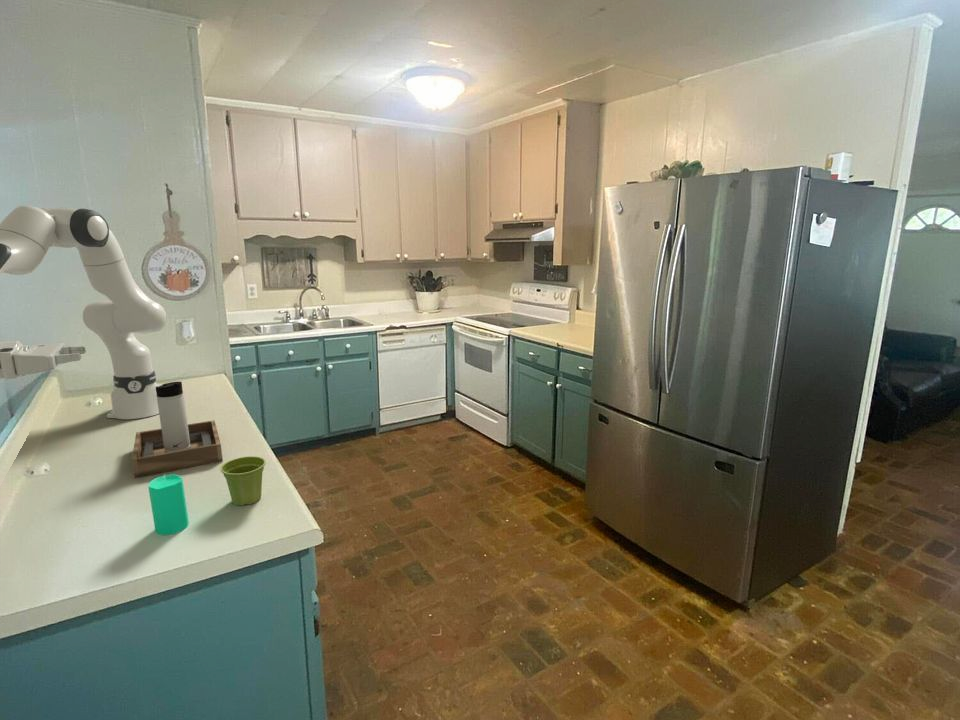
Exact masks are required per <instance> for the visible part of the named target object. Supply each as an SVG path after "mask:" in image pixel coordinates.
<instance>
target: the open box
mask: <svg viewBox="0 0 960 720" xmlns="http://www.w3.org/2000/svg"><path fill="white" fill-rule="evenodd" d="M188 431H189V434H192V433H198V432H204V431H209V435H210V440H211V444H212V445H206V446H203V442H202V441H196V442H190V445H191V448H189V449H184V450H178V451H172V452H166V453H165V448H164V447H161V448H155V449H154V455H149V456H144V447H145V441H149V440H155V439H161V438H163V436H162V429H161V428H155V429H149V430H143V431H138V432H135V437H134V438H135V439H134V444H133V450H132V456H131V463H132V470H133V471H132V472H133V476H134V479H139V478H144V477H149V476H155V475H160V474H166V473H170V472H176V471H180V470H181V471H182V470H185V469H186V470H187V469H191V468H196V467H202V466H206V465H212V463H213V464H217V462H218V463H222V462H221V461H223V452H222V451H223V450H222V444H221V441H220V440H221V439H220V437H219V436H220V435H219V432H218V428H217V423H216V421H215V419H214V420H207V421H201V422H194V423H188ZM143 456H144V457H143ZM223 462H224V461H223Z"/></svg>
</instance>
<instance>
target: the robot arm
mask: <svg viewBox="0 0 960 720" xmlns="http://www.w3.org/2000/svg"><path fill="white" fill-rule="evenodd" d="M50 247H57V248H69V249H70V248H76V249H77V251H78V253H79V256H80V259H81V262H82V265H83V268H84V270H85V273H86V275H87V277H88V280H89V282H90V285H91V287H92V288H93V290H95V291H97V292H98V293H100V294H102V295H103V296H105V297H106V298H107V300H105V299H104V300H99V301H95V302H90V303H89V304H87V305H86V306H85V308H83V311H82V320H83V323H84V325H85V327H87V328H88V329H89V330H90V331H92V332H93V333H95V335H97V336H98V337H99V339H101V341H102V342H103V343H104V345H105V347H106V348H107V351H108V352H109V355H110V359H111V364H112V368H113V384H114V387H115V388H114V389H113V390H112V392H110V401H111V407H112V408H111V409H112V410H110V411H109V412H108V413H107V414H106V418H107V419H118V420H135V419H136V420H137V419H143V418H148V417H152V416H156V415H158V414H159V409H158V402H157V393H156V387H157V386H161V385H160V384H158V383H157V375H156V372H155V370H154V367H153V366H154V365H153V359H152V353H151V350H150V349H149V347H148V346H146V345H145V344H143V343H142V342H140V341H139V340H138V339H137V338H136V336H135V334H139V335H140V334H143V335H144V334H151V333H156V332H160V331H162V329H164V327H165V326H166V323H167V313H166V310H165V308H164V307H163V306H162V305H161V304H160V303H159V302H156V301H155V300H153V299H152V298H150V297H149V296H147V294H145V293H144V292H143V290H142V289H141V288H140V287H139V286H138V284H137V283H136V281H135V280H134V278H133V275H132V273H131V271H130V268H129V265H128V263H127V260H126V258H125V256H124V253H123V250H122V247H121V246H120V243H119V241H118V240H117V238H116V236H115V234H114V233H113V231H112V230H111V229H110V228H109V224H108V222H107V221H106V219H105V218H104V216H102V214H100V213H99V212H97V211H96V210H93V209H92V210H91V209H90V208H89V209H88V208H75V207H58V208H57V207H55V208H40V207H37V206H34V205H29V204H28V205H25V204H24V205H19V206H18V207H15V208H14V209H13V210H12V211H10V213H9V214H8V215H7V216H5V217H4V218H3V220H2V221H1V222H0V275H1V274H9V275H14V276H23V275H27V274H30V273H32V272H34V271H35V270H36V269H37V268H38V267H39V265H40V264H41V263H42V261H43V260H44V257H46V254H47V253H48V251H49V249H50ZM86 353H87V349H86V346H83V345H82V346H75V345H74V346H73V345H71V346H70V345H66V343H65V342H61V341H60V342H50V343H49V342H48V343H40V344H38V343H37V344H33V345H29V344H24V345H23V343H22V342H21V341H20V340H11V341H10V340H9V341H0V379H5V380H11V379H17V378H19V377H25V376H26V375H31V374H39V373H44V372H49V371H53V370H55V369H56V368H57V366H58V365H61V364H62V365H63V364H67V363H72V362H79V361H81V359H82V357H81V356H82V355H83V354H86Z"/></svg>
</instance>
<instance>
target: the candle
mask: <svg viewBox="0 0 960 720" xmlns="http://www.w3.org/2000/svg"><path fill="white" fill-rule="evenodd" d="M147 488H148V493H149V499H150V504H151V512H152V517H153V518H152V519H153V523H154V531H155V533H156V534H157V535H159V536H170V535H175V534H177V533H180V532H182V531H184V530H185V529H186V528H188V527H189V524H190V523H189V516H188V510H187V509H188V507H187V501H186V496H185V495H186V494H185V488H184V481H183V478H182V477H181V475H178V474H175V473H173V474H166V473H163V475H162V476H159V477H156V478H154V479H152V480H151V481H150V482H149V484H148V487H147Z"/></svg>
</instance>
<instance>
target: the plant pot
mask: <svg viewBox="0 0 960 720" xmlns="http://www.w3.org/2000/svg"><path fill="white" fill-rule="evenodd" d="M266 464H267V463H266V459H265V458H263V457H262V456H255V455H251V456H242V457H237V458H234V459H231V460H228V461H226V462H225V463H223V464H222V465H221V466H220V473H222V474H223V476H224V478H225V480H226V483H227V488H228V491H229V494H230V499H231V501H232V503H233V504H234V505H236V506H245V505H247V504H250V505H251V504H254V503H256V502H258V501H259V500H261V498H262V489H263V488H262V487H263V486H262V483H263V472H264V469H265V466H266Z"/></svg>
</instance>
